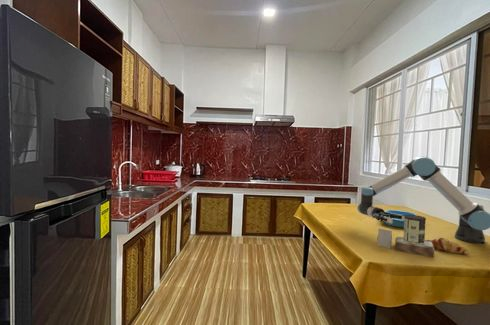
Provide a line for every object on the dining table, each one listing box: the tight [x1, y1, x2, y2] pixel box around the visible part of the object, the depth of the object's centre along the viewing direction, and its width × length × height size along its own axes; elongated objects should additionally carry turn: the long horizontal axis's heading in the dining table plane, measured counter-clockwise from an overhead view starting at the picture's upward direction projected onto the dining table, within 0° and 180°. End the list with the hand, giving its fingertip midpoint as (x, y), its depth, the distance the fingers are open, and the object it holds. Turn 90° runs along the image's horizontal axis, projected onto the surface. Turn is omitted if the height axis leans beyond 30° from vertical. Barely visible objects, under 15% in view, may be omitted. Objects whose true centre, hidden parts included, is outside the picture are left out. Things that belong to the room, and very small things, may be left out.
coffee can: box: [403, 214, 427, 244], centre depth 150 cm, size 10×10×14 cm
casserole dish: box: [384, 209, 417, 229], centre depth 210 cm, size 37×22×7 cm, turn 147°
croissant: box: [425, 237, 470, 255], centre depth 152 cm, size 21×10×8 cm, turn 46°
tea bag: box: [376, 228, 393, 249], centre depth 155 cm, size 4×7×10 cm, turn 52°
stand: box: [394, 236, 435, 258], centre depth 150 cm, size 18×11×5 cm, turn 59°
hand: (401, 221), depth 158 cm, fingers open, 13 cm apart
